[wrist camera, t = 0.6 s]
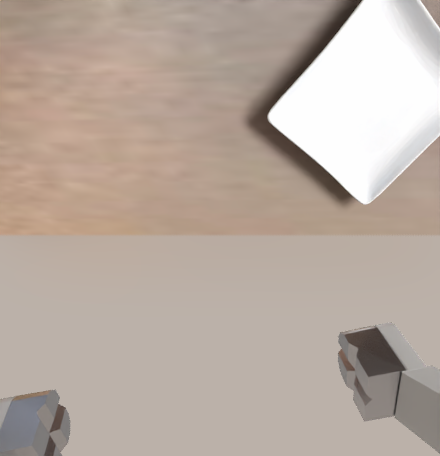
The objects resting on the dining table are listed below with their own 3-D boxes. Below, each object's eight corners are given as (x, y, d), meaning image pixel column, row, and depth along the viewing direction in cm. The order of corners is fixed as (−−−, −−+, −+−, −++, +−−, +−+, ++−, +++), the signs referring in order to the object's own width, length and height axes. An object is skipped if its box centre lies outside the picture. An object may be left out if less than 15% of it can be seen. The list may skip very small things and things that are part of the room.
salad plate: (471, 86, 52) (490, 90, 49) (357, 199, 59) (367, 209, 56) (379, -35, 44) (394, -39, 41) (257, 112, 50) (263, 118, 47)
